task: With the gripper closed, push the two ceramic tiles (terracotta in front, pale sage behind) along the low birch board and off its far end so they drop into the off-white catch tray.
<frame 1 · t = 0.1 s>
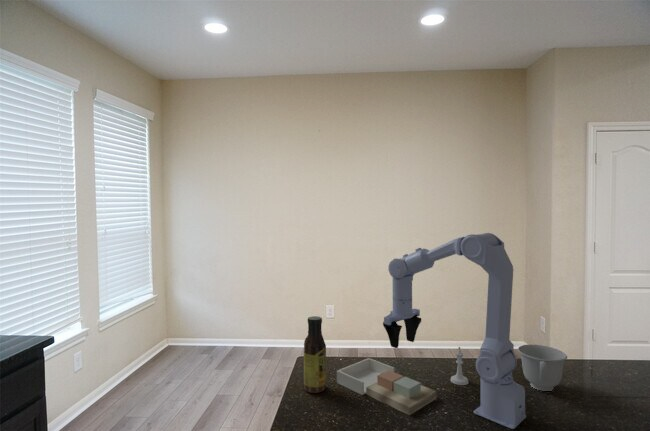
hand: (402, 344, 111), 10 cm above the countertop, tool pointing down, fingers open, 7 cm apart
tile terracotta: (390, 384, 102), point 2 cm above the countertop, touching board
tile sage: (407, 391, 98), point 2 cm above the countertop, touching board
chess piece: (459, 382, 109), on the countertop
tray: (365, 381, 109), on the countertop
board: (400, 396, 100), on the countertop
sauce bottle: (315, 389, 105), on the countertop
teacup: (542, 390, 103), on the countertop
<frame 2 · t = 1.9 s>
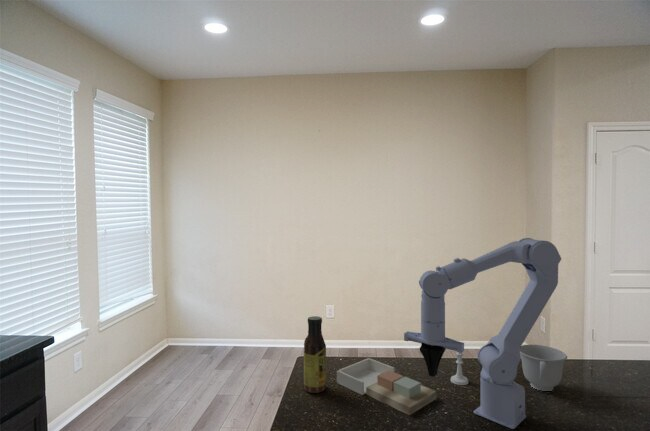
hand: (432, 374, 92), 9 cm above the countertop, tool pointing down, fingers closed
nothing on the countertop moved.
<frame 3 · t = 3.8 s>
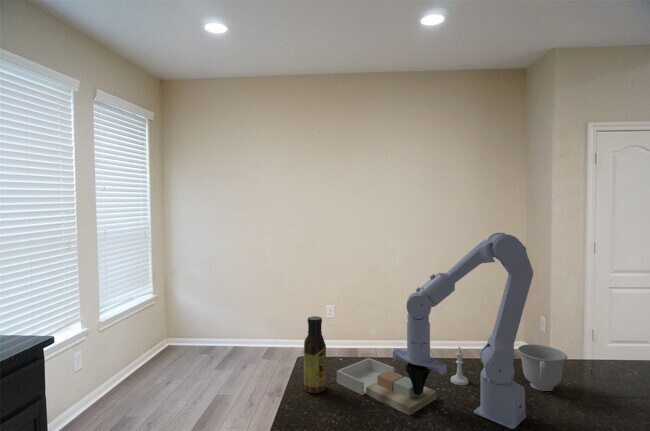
hand: (418, 393, 96), 3 cm above the countertop, tool pointing down, fingers closed
tile sage: (406, 391, 98), point 2 cm above the countertop, touching board, gripper
everything else where it was.
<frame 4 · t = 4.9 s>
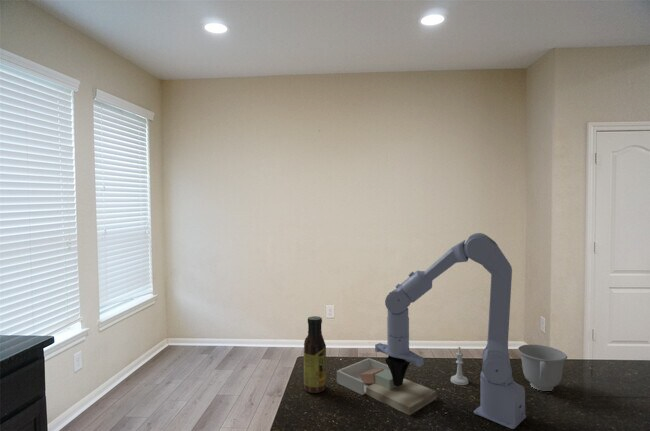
hand: (398, 384, 100), 3 cm above the countertop, tool pointing down, fingers closed
tile terracotta: (374, 380, 107), point 1 cm above the countertop, tilted 19°, touching tile sage
tile sage: (388, 383, 103), point 2 cm above the countertop, touching board, gripper, tile terracotta
everything else where it was.
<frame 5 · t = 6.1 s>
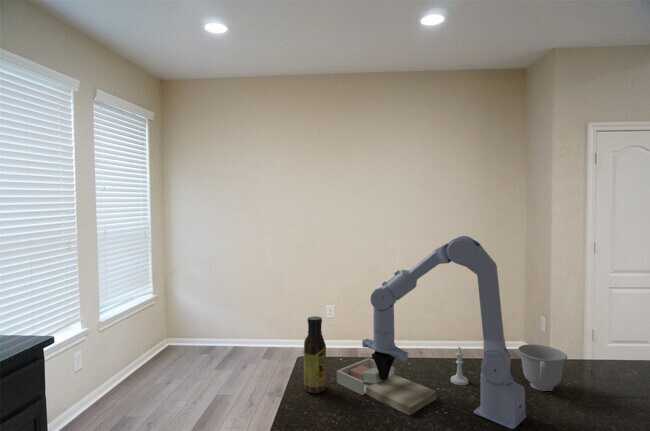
hand: (384, 378, 104), 3 cm above the countertop, tool pointing down, fingers closed
tile terracotta: (361, 378, 110), resting on tray, touching tile sage
tile sage: (375, 380, 106), point 2 cm above the countertop, tilted 13°, touching board, gripper, tile terracotta
everything else where it was.
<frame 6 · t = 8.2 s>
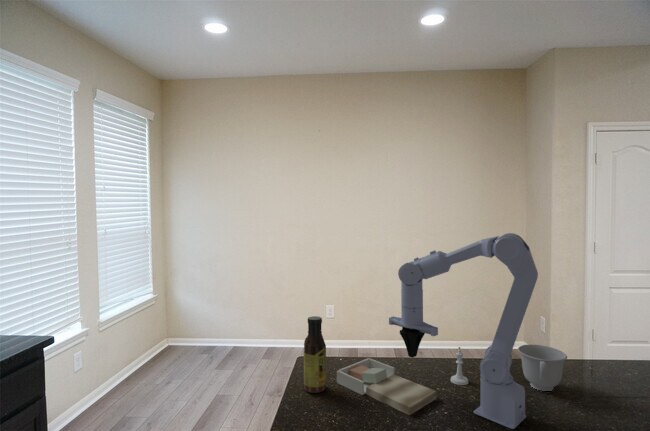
hand: (412, 356, 101), 10 cm above the countertop, tool pointing down, fingers closed
tile sage: (375, 379, 106), point 2 cm above the countertop, tilted 13°, touching board, tile terracotta
everything else where it was.
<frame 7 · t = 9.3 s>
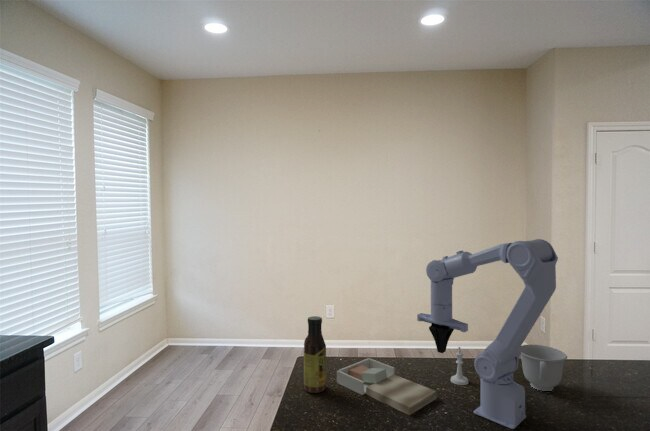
hand: (441, 351, 104), 10 cm above the countertop, tool pointing down, fingers closed
nothing on the countertop moved.
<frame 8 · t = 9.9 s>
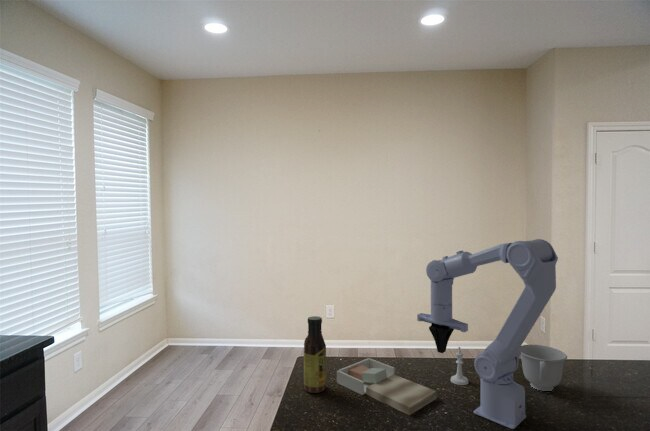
hand: (441, 351, 104), 10 cm above the countertop, tool pointing down, fingers closed
nothing on the countertop moved.
at the end: tile terracotta inside the target area (1.7 cm from its centre), resting on tray; tile sage inside the target area (3.8 cm from its centre), point 1.5 cm above the countertop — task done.
